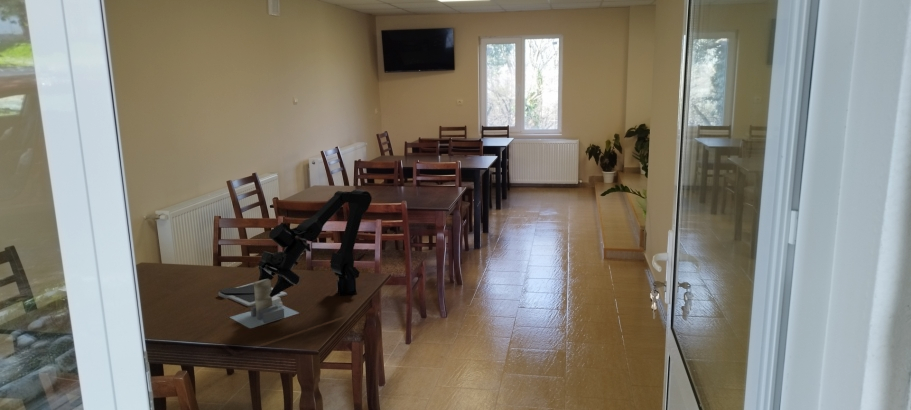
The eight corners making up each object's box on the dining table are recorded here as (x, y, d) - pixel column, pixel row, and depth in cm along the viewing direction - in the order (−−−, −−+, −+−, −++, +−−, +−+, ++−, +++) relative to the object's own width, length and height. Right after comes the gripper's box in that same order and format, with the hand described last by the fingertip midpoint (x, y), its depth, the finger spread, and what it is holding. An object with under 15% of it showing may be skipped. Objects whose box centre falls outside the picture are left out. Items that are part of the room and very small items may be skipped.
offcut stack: (276, 303, 214) (275, 295, 213) (282, 306, 211) (282, 298, 210) (262, 307, 210) (262, 299, 209) (269, 310, 207) (268, 302, 207)
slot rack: (278, 305, 214) (277, 295, 213) (299, 315, 205) (298, 304, 204) (229, 319, 201) (228, 308, 201) (250, 330, 192) (249, 319, 191)
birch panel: (269, 312, 205) (267, 278, 203) (272, 313, 204) (270, 279, 202) (256, 316, 202) (253, 282, 199) (259, 317, 200) (256, 283, 198)
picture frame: (219, 297, 224) (248, 310, 211) (218, 290, 224) (247, 302, 210) (257, 286, 236) (287, 298, 222) (256, 279, 235) (286, 291, 222)
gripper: (260, 237, 208) (232, 274, 203) (289, 246, 196) (260, 287, 190) (282, 254, 215) (256, 291, 210) (311, 265, 203) (284, 304, 197)
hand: (263, 293), depth 201 cm, fingers open, 9 cm apart
